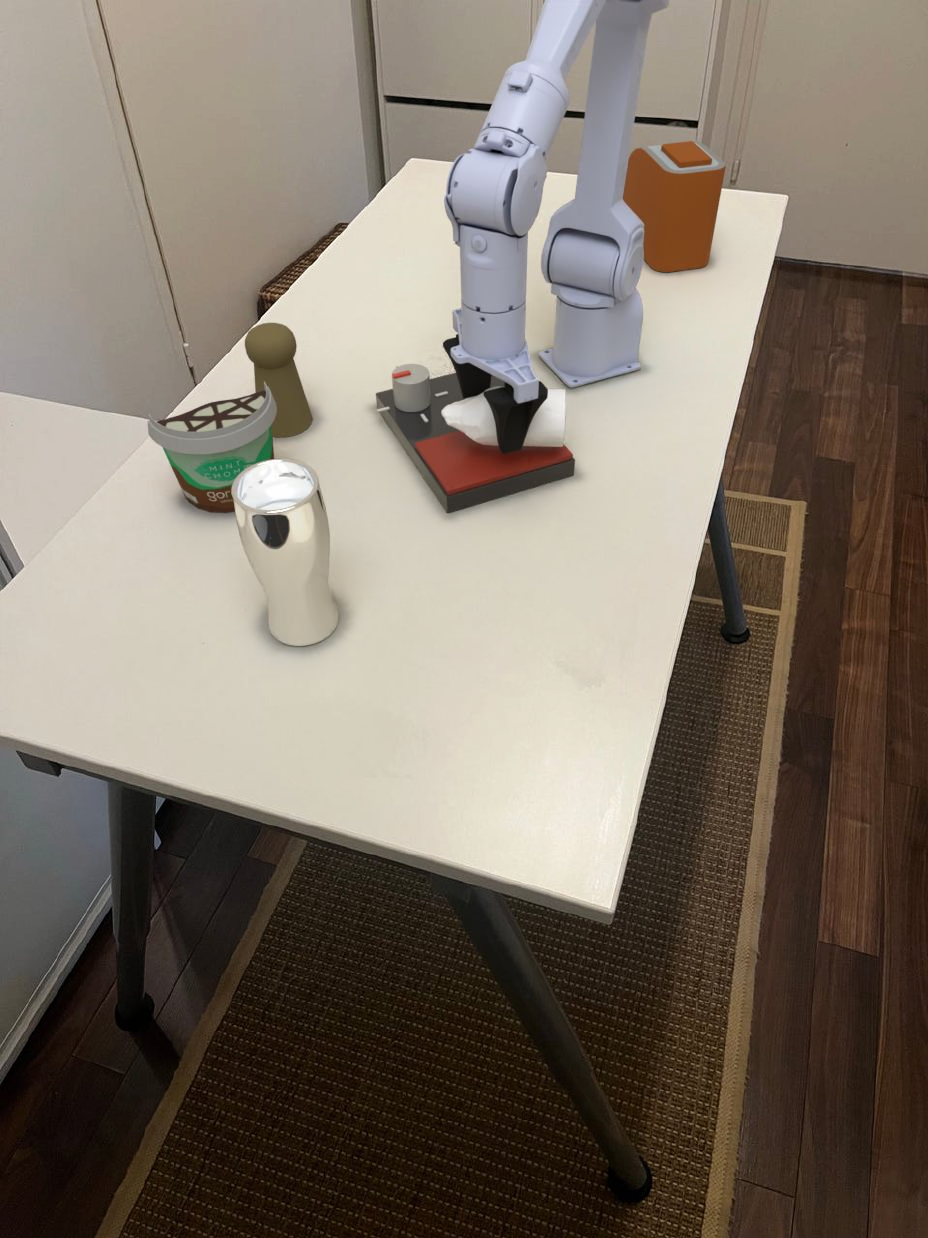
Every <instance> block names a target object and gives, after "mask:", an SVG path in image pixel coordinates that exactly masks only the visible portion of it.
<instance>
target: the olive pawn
mask: <svg viewBox="0 0 928 1238" xmlns="http://www.w3.org/2000/svg"><path fill="white" fill-rule="evenodd" d="M297 345H298V344H297V340H296V337H295V334H294V332H293V331H292V330H291V329H290V328H289V327H288V325H285V324H283V323H278V322H265V323H260V324H257V325H255V326H253V327H252V328H251V329H249V331H247V333H246V336H245V338H244V349H245V353H246V355H247V357H248V359H249V360H250V362H252V363H253V373H254V375H253V376H254V389H255V390H254V391H255V392H254V393H256V392H261V391H264V381H265V383H266V385H267V387H269V389H270V391H271V393H272V395H273V398H274V400H275V402H276V406H277V413H276V416H275V419H274V421H273V423H272V424H271V426H272V438H290V437H294V436H297V435H300V434H302V433H304V432H305V431H306V430H308V429H309V428H310V427H311V426H312V423H313V420H314V417H313V415H312V412H311V409H310V405H309V402H308V399H307V396H306V393H305V390H304V386H303V384H302V381H301V378H300V375H299V371H298V368H297V365H296V362H295V359H294V358H295V356H296V354H297V347H298V346H297Z"/></svg>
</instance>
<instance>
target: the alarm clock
mask: <svg viewBox="0 0 928 1238" xmlns="http://www.w3.org/2000/svg"><path fill="white" fill-rule="evenodd" d="M725 172H726V163H725V162H724V161H723V159H721V158H720V157H719V156H718V155H717V154H715V152H713V151H712V150H711V149H710V148H709V147H708V146H706V145H705V144H704V143H702V142H700V141H698V140H688V141H680V142H670V143H663V144H658V145H650V146H649V145H647V146H640V147H636V148H635V149H633V151H632V152H631V153H630V154H629V159H628V166H627V173H626V179H625V186H624V192H623V200H624V202H625V203H626V204H627V205H628V207H629V208H630V209H631V210H632V211H633V212H634V213H635V214H636V215H637V216H638V217H639V218H640V220H641V221H642V222H643V223H644V240H643V250H644V260H643V261H645V262H646V263H647V265H648V266H649V267H650V268H651V269H652V270H654V271H657V272H661V273H672V272H680V271H688V270H696V269H701V268H704V267H706V266H707V265H708V264H709V262H710V256H711V252H712V251H711V250H712V245H713V240H714V235H715V228H716V222H717V216H718V211H719V207H720V200H721V194H722V189H723V183H724V177H725Z"/></svg>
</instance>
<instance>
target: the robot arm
mask: <svg viewBox="0 0 928 1238" xmlns="http://www.w3.org/2000/svg"><path fill="white" fill-rule="evenodd" d="M669 5H670V0H544V2H543V4H542V8H541V9H540V10H541V11H540V14H539V17H538V19H537V22H536V26H535V29H534V32H533V35H532V38H531V42H530V44H529V48H528V51H527V54H526V57H525V60H523V61H519V62H516V63H514V64H512V65H510V66H509V67H508V68H507V69H506V70H505V73H504V75H503V78H502V80H501V81H500V84H499V87H498V89H497V92H496V94H495V96H494V98H493V101H492V103H491V106H490V108H489V110H488V113H487V115H486V118H485V120H484V122H483V125H482V127H481V128H480V129H481V130H480V132H479V134H478V136H477V139H476V142H475V144H474V146H473V148H470V149H468V150H467V152H465V153H461V154H460V155H458V156H457V157H456V158H455V160H454V161H453V163H452V165H451V167H450V169H449V173H448V176H447V181H446V188H445V195H444V197H443V203H444V211H445V213H446V216H447V218H448V220H449V222H450V224H451V227H452V240H453V241H452V242H454V245H456V246H457V247H459V260H460V261H459V264H460V265H459V266H460V268H459V269H460V296H461V297H460V302H461V303H460V305H461V307H460V308H457V309H452V312H451V313H452V329H453V331H455V332H456V334H455V337H450V338H447V339H445V340H444V341H443V342H442V348H443V349H444V351H445V352H446V354H447V356H448V358H449V360H450V362H451V364H452V367H453V369H454V373H456V374H457V377H458V381H459V385H460V388H461V392H462V396H463V400H464V399H466V398H470V397H474V396H478V395H480V394H481V393H483V392H484V391H485V390H487V389H489V388H490V386H491V376H492V375H493V376H495V377H497V378H499V379H501V380H503V381H504V387H500V388H496V389H492V390H489V391H485V392H484V397H485V398H486V400H487V402H488V403H489V406H490V408H491V410H492V413H493V416H494V420H495V425H496V433H497V441H498V445H499V448H500V451H501V452H502V453H503V454H507V453H510V452H514V451H517V450H521V449H522V446H523V444H524V441H525V438H526V435H527V432H528V429H529V426H530V424H531V421H532V419H533V417H534V415H535V414H536V412H537V410H538V409H539V408H540V406H541V405H542V404H543V402H544V401H545V400H546V399H547V397H548V389H549V388H547V386H546V385H545V384H544V383H543V382H542V381H541V380H540V379H539V378H538V376H537V375H536V374H535V372H534V369H533V364H532V360H531V356H530V355H531V354H530V351H529V347H528V342H527V339H526V316H527V315H526V314H527V313H526V312H527V311H526V310H527V283H528V282H527V281H528V280H527V276H528V247H529V246H528V245H529V244H528V243H529V231H530V230H531V229H532V227H533V225H534V223H535V222H536V219H537V217H538V215H539V213H540V209H541V205H542V201H543V193H544V186H545V182H546V179H547V177H548V176H547V173H548V171H549V170H548V166H547V164H546V160H547V158H548V156H549V153H550V151H551V148H552V147H553V145H554V141H555V139H556V137H557V134H558V132H559V130H560V127H561V124H562V122H563V120H564V117H565V115H566V112H567V110H568V108H569V105H570V102H571V100H570V99H571V97H570V91H569V89H568V87H567V83H566V82H565V81H566V79H567V77H568V75H569V73H570V71H571V69H572V67H573V65H574V63H575V62H576V60H577V57H578V56H579V54H580V51H581V50H582V49H583V46H584V44H585V42H586V40H587V38H588V37H589V35H590V33H591V31H592V29H593V27H594V25H595V29H594V35H593V46H592V54H591V61H590V69H589V76H588V77H589V78H588V86H587V94H586V100H585V101H586V103H585V110H584V119H583V127H582V133H581V134H582V135H581V143H580V152H579V160H578V166H577V167H578V168H577V175H576V184H575V192H574V198H573V199H571V200H570V201H567V202H566V203H564V204H563V205H561V206H560V207H559V208H557V209H556V210H555V211H554V213H553V214H552V216H550V220H549V224H548V230H547V234H546V238H545V241H544V244H543V247H542V251H541V257H540V258H541V259H540V271H541V274H542V276H543V279H544V281H545V282H546V283H547V284H549V285H551V286H550V294H551V295H555V296H556V299H555V315H554V316H555V318H554V332H553V333H554V335H553V348H549V349H545V350H542V351H539V353H538V357H539V358H540V359H541V360H542V361H543V362H544V363H545V364H546V365H547V366H548V367H549V368H550V370H551V371H552V372H553V373H554V374H555V375H556V376H557V377H558V378H559V379H560V380H561V381H562V382H563V383H564V384H565V385H566V386H567V387H568V388H576V387H580V386H584V385H587V384H591V383H595V382H598V381H603V380H606V379H609V378H613V377H616V376H620V375H624V374H627V373H631V372H635V371H639V370H640V369H642V368H641V367H642V365H641V363H640V362H639V353H640V346H641V337H642V331H643V323H644V306H643V301H642V298H641V294H640V293H639V290H638V289H637V288H636V287H637V286H638V284H639V281H640V278H641V274H642V270H643V267H644V261H645V260H644V250H643V240H644V223H643V222H642V221H641V220H640V218H639V217H638V216H637V215H636V214H635V213H634V212H633V211H632V210H631V209H630V208H629V207H628V205H627V204H626V203H625V202H624V200H623V192H624V186H625V179H626V173H627V166H628V159H629V157H630V154H631V153H630V152H631V146H632V140H633V133H634V132H633V131H634V127H635V119H636V114H637V113H636V112H637V106H638V99H639V93H640V87H641V79H642V74H643V73H642V72H643V68H644V67H643V66H644V61H645V60H644V59H645V54H646V48H647V47H646V46H647V42H648V41H647V40H648V36H649V30H650V26H651V20H652V16H653V14H655V13H658V12H660V11H663V10H665V9H667V8H669Z"/></svg>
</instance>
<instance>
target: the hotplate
mask: <svg viewBox="0 0 928 1238" xmlns="http://www.w3.org/2000/svg"><path fill="white" fill-rule="evenodd" d="M415 448H416V449H417V451H418V452H419V454H420V455H421V457H422V458H423V460H424V461H425V463H426V464H427V466H428V467H429V468H430V470H431V471H432V473H433V474H434V476H435V477H436V479H437V480H438V482H439V483H440V484H441V486H442V487H443V489H444V490H445V492H446V493H447V495H451V494H455V493H458V492H461V491H465V490H468V489H472V488H475V487H478V486H482V485H485V484H489V483H492V482H495V481H499V480H502V479H506V478H509V477H512V476H516V475H519V474H523V473H526V472H529V471H533V470H536V469H540V468H543V467H547V466H550V465H553V464H557V463H560V462H564V461H567V460H570V459H573V458H574V453H572V451H571V450H570V449H569V448H568V447H567V446H566V445H565V444H563V447H543V446H522V449H521V450H517V451H514V452H510V453H507V454H503V453H502V452H501V451H500V448H499V446H494V445H482V444H480V443H477V442H475V441H474V440H472V439H471V438H469V437H468V436H467V435H465V433H463V432H461V431H456V432H453V433H449V434H445V435H442V436H438V437H434V438H431V439H427V440H423V441H420V442H416V443H415Z"/></svg>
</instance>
